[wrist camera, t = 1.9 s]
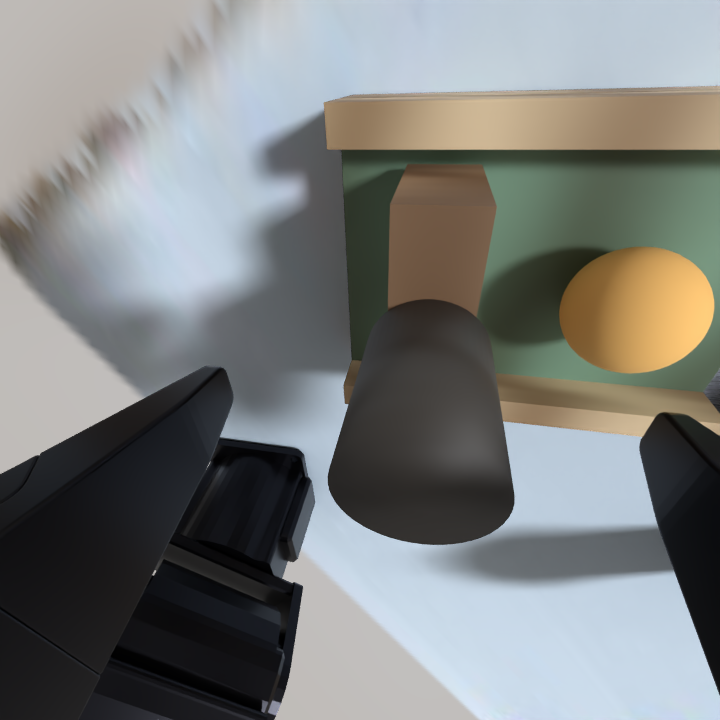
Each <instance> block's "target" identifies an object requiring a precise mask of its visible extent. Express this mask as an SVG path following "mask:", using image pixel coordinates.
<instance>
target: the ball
mask: <svg viewBox="0 0 720 720" xmlns="http://www.w3.org/2000/svg"><path fill="white" fill-rule="evenodd" d="M713 314H714V297H713V292H712V288H711V286H710V284H709V282H708V280H707V278H706V276H705V275H704V274H703V272H702V271H701V270H700V269H699V268H698V267H697V266H696V265H695V264H694V263H693V262H691V261H690V260H688V259H686V258H685V257H683V256H681V255H680V254H677V253H675V252H672V251H669V250H666V249H661V248H656V247H629V248H624V249H620V250H615V251H612V252H610V253H607V254H604V255H602V256H600V257H598V258H596V259H595V260H593V261H591V262H590V263H588V264H587V265H586V266H584V267H583V268H582V269H581V270H580V271H579V272H578V273H577V274H576V275H575V276H574V277H573V279H572V280H571V281H570V283H569V284H568V286H567V288H566V289H565V291H564V294H563V296H562V300H561V304H560V310H559V319H560V326H561V329H562V333H563V335H564V337H565V339H566V341H567V343H568V344H569V346H570V347H571V348H572V349H573V350H574V351H575V352H576V353H577V354H578V355H579V356H580V357H581V358H583V359H584V360H586V361H587V362H588V363H590V364H592V365H594V366H597V367H599V368H602V369H604V370H608V371H612V372H619V373H643V372H650V371H654V370H658V369H661V368H664V367H667V366H669V365H671V364H673V363H675V362H677V361H679V360H681V359H682V358H684V357H685V356H686V355H688V354H689V353H690V352H691V351H692V350H694V349H695V348H696V347H697V345H698V344H699V343H700V342H701V341H702V340H703V338H704V337H705V335H706V333H707V331H708V330H709V327H710V325H711V322H712V319H713Z"/></svg>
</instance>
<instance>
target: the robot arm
mask: <svg viewBox="0 0 720 720" xmlns="http://www.w3.org/2000/svg"><path fill="white" fill-rule="evenodd" d="M232 403H233V392H232V389H231V385H230V382H229V379H228V375H227V372H226V370H225V369H224V368H222V367H216V366H205V367H203V368H201V369H199V370H197V371H195V372H193V373H191V374H189V375H188V376H186V377H184V378H182V379H180V380H178V381H176V382H174V383H172V384H171V385H169V386H167V387H165V388H163V389H161V390H159V391H157V392H155V393H154V394H152V395H150V396H148V397H146V398H144V399H142V400H140V401H138V402H136V403H135V404H133V405H131V406H129V407H127V408H125V409H123V410H121V411H119V412H118V413H116V414H114V415H112V416H110V417H108V418H106V419H105V420H102V421H101V422H99V423H97V424H95V425H93V426H91V427H89V428H87V429H85V430H84V431H82V432H80V433H78V434H76V435H74V436H72V437H70V438H69V439H66V440H65V441H63V442H61V443H59V444H57V445H55V446H53V447H51V448H49V449H48V450H46V451H44V452H42V453H41V454H40V456H39V455H37V456H34V457H32V458H30V459H29V460H27V461H25V462H23V463H21V464H19V465H17V466H15V467H14V468H12V469H10V470H8V471H6V472H4V473H2V474H0V720H274V719H275V717H276V714H277V712H278V709H279V707H280V704H281V702H282V698H283V696H284V692H285V690H286V685H287V682H288V678H289V673H290V668H291V662H292V655H293V648H294V642H295V636H296V629H297V623H298V617H299V610H300V603H301V597H302V590H303V586H302V585H300V584H297V583H295V582H294V583H291V582H288V581H286V580H284V579H282V577H283V574H284V571H285V568H286V565H287V562H288V561H290V562H294V561H295V560H297V559H298V556H299V553H300V550H301V546H302V543H303V540H304V537H305V533H306V530H307V527H308V524H309V520H310V517H311V514H312V511H313V508H314V504H315V498H314V492H313V486H312V481H311V479H310V478H309V477H308V474H307V468H306V463H305V457H304V454H303V453H302V452H301V451H299V450H295V449H287V448H280V447H272V446H265V445H258V444H250V443H243V442H235V441H228V440H220V439H219V438H220V435H221V432H222V430H223V427H224V424H225V422H226V419H227V417H228V414H229V411H230V409H231V406H232ZM639 448H640V455H641V459H642V463H643V468H644V472H645V476H646V480H647V484H648V488H649V493H650V497H651V501H652V505H653V509H654V513H655V517H656V521H657V524H658V527H659V530H660V533H661V536H662V539H663V542H664V544H665V547H666V550H667V553H668V555H669V558H670V561H671V564H672V566H673V569H674V572H675V574H676V577H677V580H678V583H679V585H680V588H681V591H682V594H683V596H684V599H685V602H686V605H687V607H688V610H689V613H690V615H691V618H692V621H693V624H694V626H695V629H696V632H697V635H698V637H699V640H700V643H701V646H702V648H703V651H704V654H705V656H706V659H707V662H708V665H709V667H710V670H711V673H712V676H713V678H714V681H715V684H716V687H717V689H718V692H719V695H720V436H719V435H718V434H716V433H715V432H713V431H712V430H710V429H708V428H707V427H705V426H704V425H702V424H701V423H699V422H698V421H696V420H695V419H693V418H692V417H690V416H689V415H686V414H682V413H673V412H661V413H659V414H657V415H656V417H655V418H654V420H653V421H652V423H651V424H650V426H649V428H648V429H647V431H646V432H645V434H644V436H643V437H642V439H641V441H640V447H639ZM210 461H211V463H210V464H209V462H210ZM208 464H209V466H208ZM207 466H208V468H207ZM154 570H157V571H156V573H155V575H154V576H153V575H152V574H153V572H154Z"/></svg>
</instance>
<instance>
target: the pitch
mask: <svg viewBox="0 0 720 720" xmlns="http://www.w3.org/2000/svg"><path fill="white" fill-rule="evenodd" d="M324 112H325V127H326V141H327V150H341V152H342V172H343V192H344V212H345V232H346V252H347V272H348V292H349V312H350V333H351V353H352V361H351V364H350V367H349V370H348V373H347V376H346V379H345V382H344V398H345V404H349V402H350V398H351V395H352V391H353V388H354V385H355V381H356V378H357V375H358V371H359V368H360V365H361V361H362V358H363V355H364V351H365V348H366V345H367V341H368V338H369V335H370V332H371V330H372V328H373V326H374V325H375V323H376V322H377V321H378V320H379V318H380V317H381V316H383V315H384V314H385V313H386V312H387V311H388V278H389V229H390V203H391V201H392V198H393V196H394V194H395V192H396V189H397V187H398V185H399V182H400V180H401V178H402V176H403V173H404V171H405V169H406V166H407V164H479V165H483V168H484V171H485V174H486V177H487V180H488V182H489V185H490V188H491V191H492V194H493V197H494V200H495V202H496V205H497V209H496V215H495V220H494V226H493V231H492V236H491V242H490V247H489V253H488V258H487V263H486V269H485V274H484V280H483V285H482V290H481V296H480V301H479V307H478V312H477V318H478V319H479V320H480V322H481V323H482V324H483V325H484V327H485V329H486V330H487V332H488V335H489V338H490V341H491V347H492V353H493V360H494V366H495V373H496V379H497V386H498V392H499V399H500V405H501V412H502V418H503V421H505V422H514V423H523V424H532V425H541V426H550V427H559V428H568V429H577V430H586V431H595V432H604V433H613V434H622V435H631V436H640V437H643V436H644V434H645V432H646V431H647V429H648V428H649V426H650V424H651V423H652V421H653V420H654V418H655V417H656V415H657V414H659V413H661V412H673V413H682V414H686V415H689V416H690V417H692V418H693V419H695V420H696V421H698V422H699V423H701V424H702V425H704V426H705V427H707V428H708V429H710V430H712V431H713V432H715V433H716V434H718V435H719V436H720V413H719V412H718V411H717V409H716V408H715V407H714V406H713V404H712V403H711V402H710V400H709V399H708V398H707V397H706V395H705V394H704V393H703V392H704V390H705V389H706V387H707V386H708V384H709V383H710V382H711V380H712V379H713V377H714V376H715V374H716V373H717V372H718V370H719V369H720V86H701V87H659V88H617V89H574V90H532V91H490V92H448V93H406V94H363V95H350V96H347V97H343V98H340V99H335V100H332V101H328V102H324ZM629 247H656V248H661V249H666V250H669V251H672V252H675V253H677V254H680V255H681V256H683V257H685V258H686V259H688V260H690V261H691V262H693V263H694V264H695V265H696V266H697V267H698V268H699V269H700V270H701V271H702V272H703V274H704V275H705V276H706V278H707V280H708V282H709V284H710V286H711V288H712V292H713V297H714V314H713V319H712V322H711V325H710V327H709V330H708V331H707V333H706V335H705V337H704V338H703V340H702V341H701V342H700V343H699V344H698V345H697V347H696V348H695V349H694V350H692V351H691V352H690V353H689V354H688V355H686V356H685V357H684V358H682V359H681V360H679V361H677V362H675V363H673V364H671V365H669V366H667V367H664V368H661V369H658V370H654V371H650V372H643V373H619V372H612V371H608V370H604V369H602V368H599V367H597V366H594V365H592V364H590V363H588V362H587V361H586V360H584V359H583V358H581V357H580V356H579V355H578V354H577V353H576V352H575V351H574V350H573V349H572V348H571V347H570V346H569V344H568V343H567V341H566V339H565V337H564V335H563V333H562V329H561V326H560V319H559V310H560V304H561V300H562V296H563V294H564V291H565V289H566V288H567V286H568V284H569V283H570V281H571V280H572V279H573V277H574V276H575V275H576V274H577V273H578V272H579V271H580V270H581V269H582V268H583V267H584V266H586V265H587V264H588V263H590V262H591V261H593V260H595V259H596V258H598V257H600V256H602V255H604V254H607V253H610V252H612V251H615V250H620V249H624V248H629Z"/></svg>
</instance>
